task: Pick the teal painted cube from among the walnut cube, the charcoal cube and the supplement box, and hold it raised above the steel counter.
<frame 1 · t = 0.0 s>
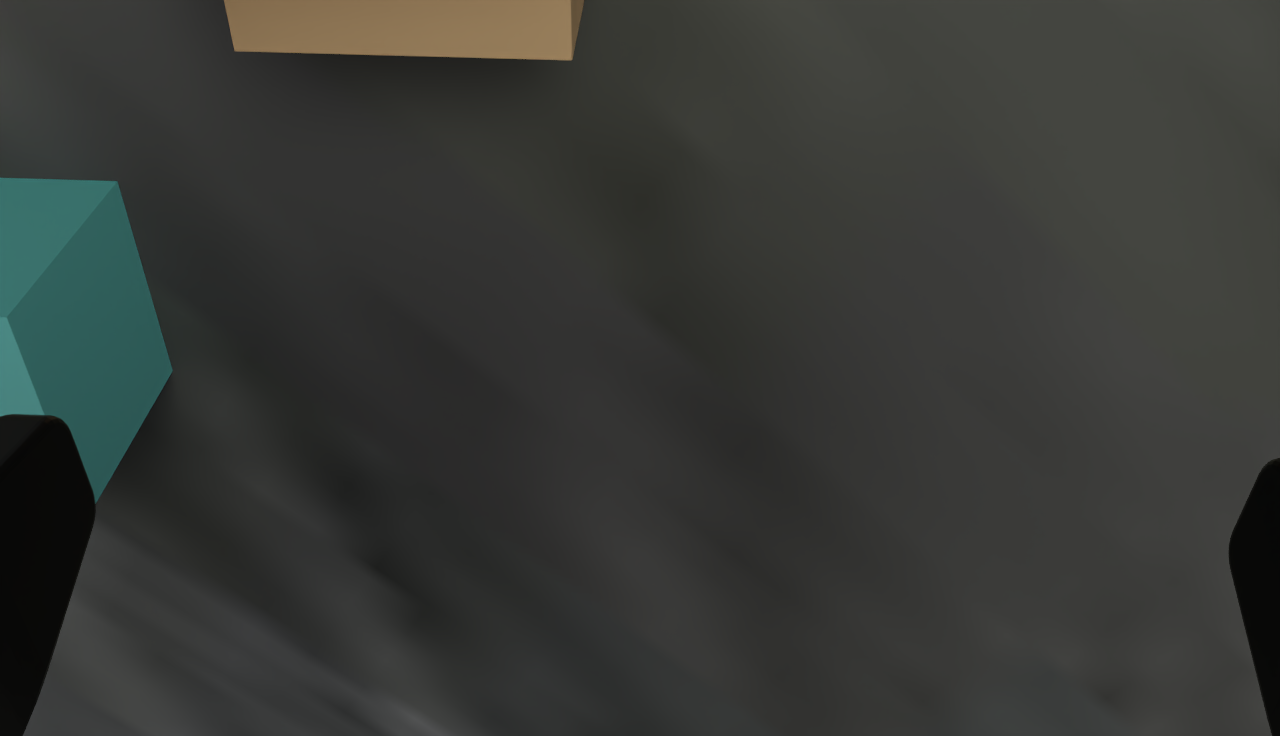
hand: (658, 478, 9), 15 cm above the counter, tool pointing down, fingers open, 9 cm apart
teal cube: (36, 276, 26), on the counter
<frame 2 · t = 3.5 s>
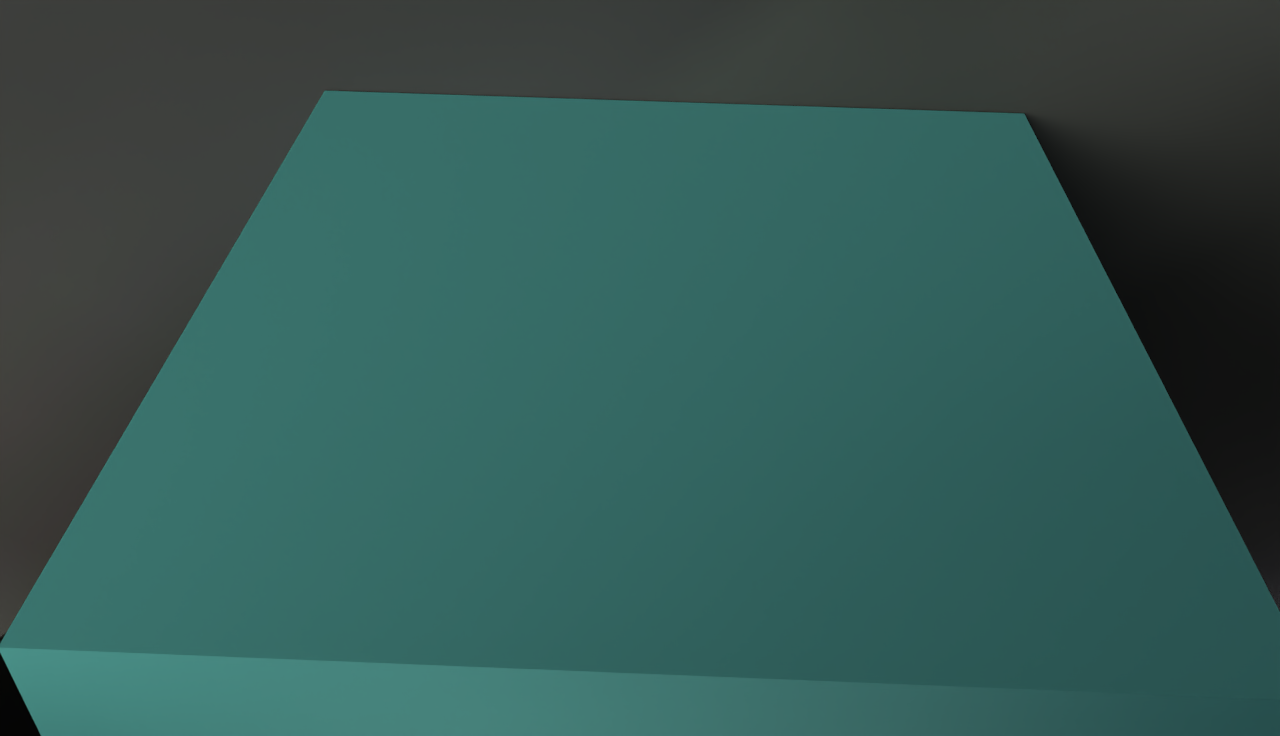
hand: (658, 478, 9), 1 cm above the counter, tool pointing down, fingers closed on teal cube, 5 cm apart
teal cube: (662, 377, 10), on the counter, touching gripper
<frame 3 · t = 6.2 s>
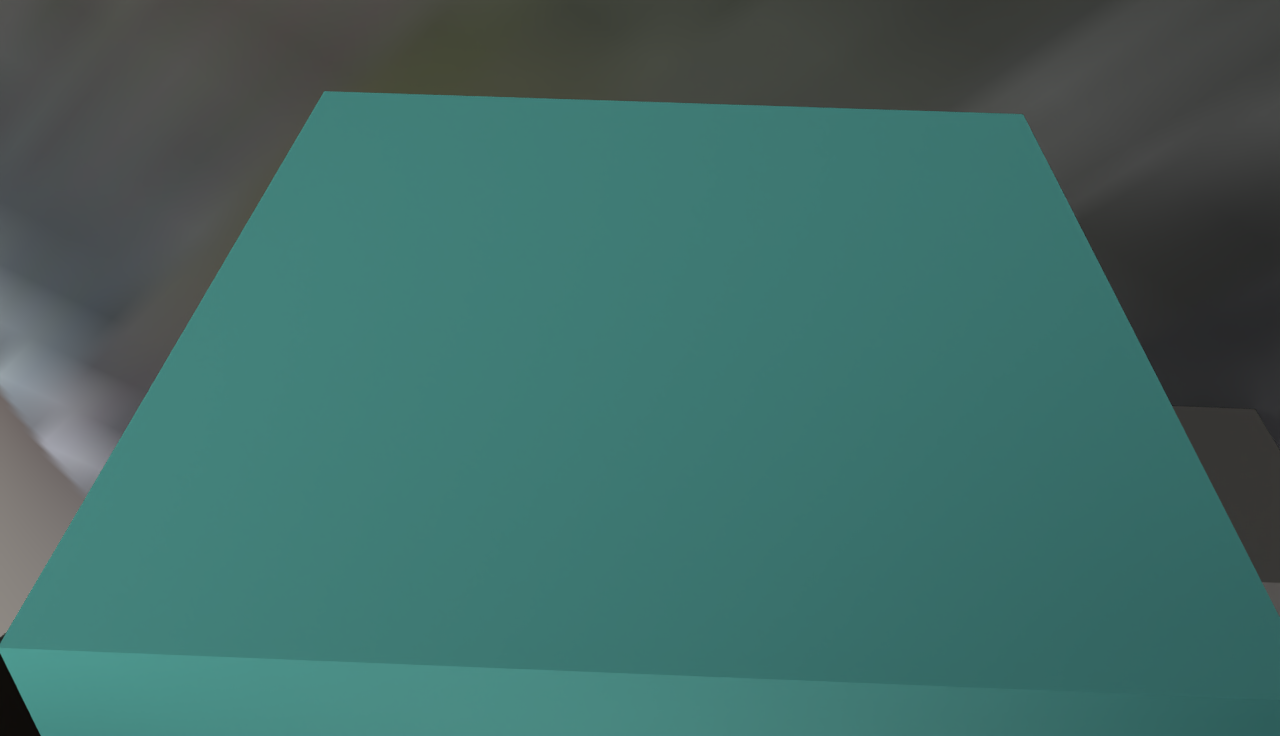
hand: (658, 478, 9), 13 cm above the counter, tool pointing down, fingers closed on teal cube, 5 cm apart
teal cube: (661, 377, 10), point 12 cm above the counter, touching gripper
charcoal cube: (1103, 487, 26), on the counter
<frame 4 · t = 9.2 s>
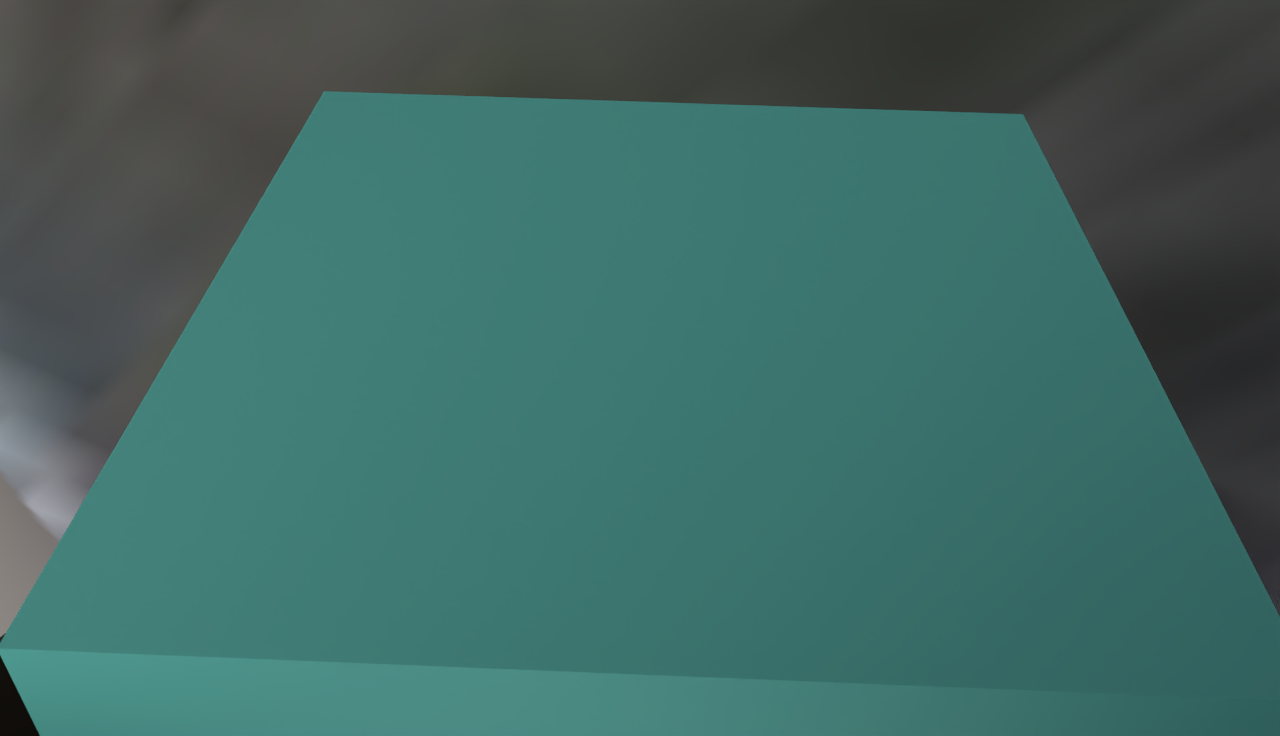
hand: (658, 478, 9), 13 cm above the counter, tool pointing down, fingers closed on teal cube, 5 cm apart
teal cube: (661, 377, 10), point 12 cm above the counter, touching gripper
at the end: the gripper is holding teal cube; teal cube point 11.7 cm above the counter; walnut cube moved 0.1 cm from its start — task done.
